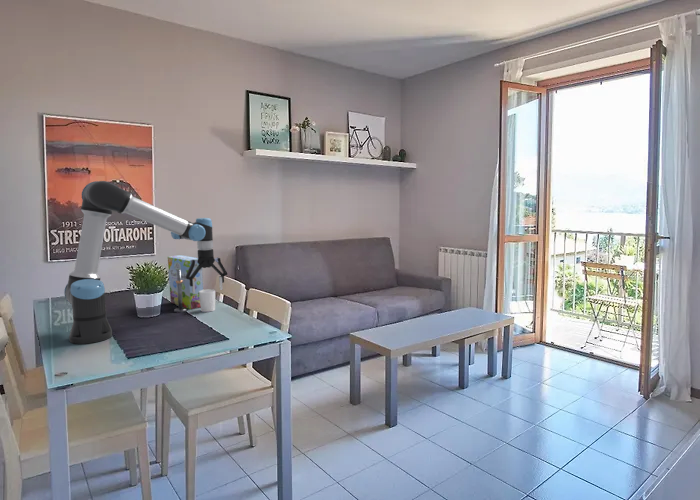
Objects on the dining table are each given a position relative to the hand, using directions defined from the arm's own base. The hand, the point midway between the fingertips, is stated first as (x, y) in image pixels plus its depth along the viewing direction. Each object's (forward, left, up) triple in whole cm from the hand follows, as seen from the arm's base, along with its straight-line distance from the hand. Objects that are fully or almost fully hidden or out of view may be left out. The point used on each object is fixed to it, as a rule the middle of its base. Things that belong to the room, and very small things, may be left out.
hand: (207, 290), depth 227 cm
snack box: (+18, +7, -10) cm, 22 cm away
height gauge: (+6, +12, -10) cm, 17 cm away
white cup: (0, 0, -10) cm, 10 cm away
